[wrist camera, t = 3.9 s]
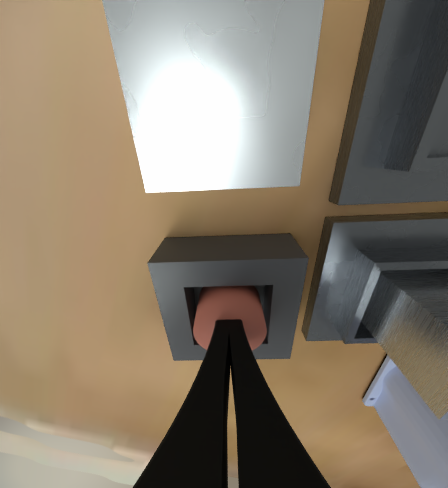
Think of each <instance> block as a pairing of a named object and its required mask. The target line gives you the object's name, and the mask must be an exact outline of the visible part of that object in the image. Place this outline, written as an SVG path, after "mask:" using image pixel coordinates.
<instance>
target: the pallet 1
mask: <svg viewBox="0 0 448 488" xmlns="http://www.w3.org/2000/svg"><path fill="white" fill-rule="evenodd" d="M329 201H330V202H332V203H334V204H336V205H356V204H382V203H407V202H432V201H448V0H370V5H369V10H368V15H367V20H366V24H365V29H364V34H363V39H362V44H361V48H360V53H359V58H358V63H357V68H356V72H355V77H354V82H353V87H352V92H351V96H350V101H349V106H348V111H347V115H346V120H345V125H344V130H343V135H342V139H341V144H340V149H339V154H338V159H337V163H336V168H335V173H334V178H333V183H332V187H331V192H330V197H329Z"/></svg>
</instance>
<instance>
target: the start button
mask: <svg viewBox="0 0 448 488" xmlns="http://www.w3.org/2000/svg"><path fill="white" fill-rule="evenodd" d="M225 319H241V320H242V322H243V326H244V330H245V333H246V336H247V339H248V342H249V345H250V347H251V350H254V349H256V348H257V347H259V346H260V345H261V344H262V342H263V341H264V339H265V337H266V334H267V328H266V323H265V319H264V314H263V310H262V305H261V301H260V296H259V293H258V290H257V288H256V287H255V286H254V285H249V286H213V287H203V288H202V289H201V291H200V294H199V300H198V305H197V311H196V316H195V321H194V327H193V334H194V337H195V340H196V341H197V343H198V344H199V345H200V346H201V347H203V348H204V349H206V350H207V349H208V346H209V344H210V340H211V337H212V334H213V330H214V326H215V321H216V320H225Z"/></svg>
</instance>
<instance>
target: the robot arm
mask: <svg viewBox="0 0 448 488" xmlns="http://www.w3.org/2000/svg"><path fill="white" fill-rule="evenodd" d="M230 365H231V375H232V385H233V394H234V404H235V414H236V427H237V452H238V479H239V488H331V487H330V486H329V484H328V483H327V481H326V480H325V479H324V477H323V476H322V474H321V473H320V471H319V470H318V468H317V467H316V465H315V464H314V462H313V461H312V459H311V457H310V456H309V454H308V453H307V451H306V450H305V448H304V447H303V445H302V443H301V442H300V440H299V439H298V437H297V435H296V434H295V432H294V431H293V429H292V427H291V426H290V424H289V422H288V421H287V419H286V417H285V416H284V414H283V412H282V410H281V409H280V407H279V405H278V403H277V402H276V400H275V398H274V396H273V394H272V392H271V391H270V389H269V387H268V385H267V383H266V381H265V379H264V377H263V375H262V373H261V370H260V368H259V366H258V364H257V362H256V359H255V357H254V355H253V352H252V350H251V347H250V345H249V342H248V339H247V336H246V333H245V330H244V326H243V322H242V320H241V319H225V320H216V321H215V326H214V330H213V334H212V337H211V340H210V344H209V346H208V349H207V352H206V354H205V357H204V360H203V362H202V364H201V367H200V369H199V371H198V374H197V376H196V378H195V380H194V383H193V385H192V387H191V389H190V391H189V393H188V395H187V397H186V399H185V401H184V403H183V405H182V407H181V409H180V410H179V412H178V414H177V416H176V418H175V419H174V421H173V423H172V425H171V427H170V428H169V430H168V432H167V434H166V435H165V437H164V439H163V440H162V442H161V444H160V445H159V447H158V448H157V450H156V452H155V453H154V455H153V457H152V458H151V460H150V462H149V463H148V465H147V466H146V468H145V470H144V471H143V473H142V474H141V476H140V477H139V479H138V480H137V482H136V483H135V485H134V486H133V488H228V464H227V416H228V399H229V381H230ZM362 401H363V403H364V405H366V406H374V407H375V409H376V411H377V413H378V414H379V416H380V418H381V420H382V421H383V423H384V425H385V426H386V428H387V430H388V432H389V433H390V435H391V437H392V439H393V440H394V442H395V444H396V446H397V447H398V449H399V451H400V453H401V454H402V456H403V458H404V460H405V461H406V463H407V465H408V466H409V468H410V470H411V472H412V473H413V475H414V477H415V479H416V480H417V482H418V484H419V485H420V487H421V488H448V420H439V419H438V418H437V417H436V416H435V414H434V413H433V412H432V410H431V409H430V408H429V407H428V405H427V404H426V403H425V402H424V400H423V399H422V398H421V396H420V395H419V394H418V393H417V391H416V390H415V389H414V388H413V386H412V385H411V384H410V383H409V381H408V380H407V379H406V377H405V376H404V375H403V374H402V372H401V371H400V370H399V369H398V367H397V366H396V365H395V363H394V362H393V361H392V360H391V358H390V357H389V356H388V355H387V357H386V359H385V360H384V362H383V364H382V366H381V368H380V369H379V371H378V373H377V375H376V377H375V378H374V380H373V382H372V384H371V386H370V387H369V389H368V391H367V393H366V394H365V396H364V398H363V400H362Z"/></svg>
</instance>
